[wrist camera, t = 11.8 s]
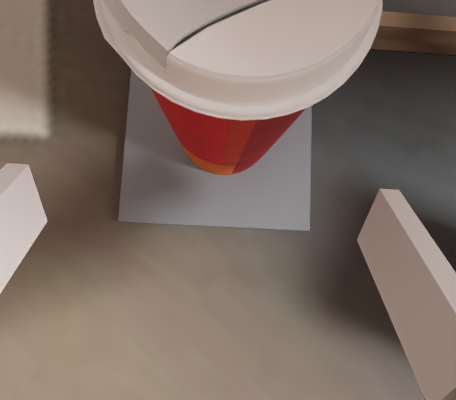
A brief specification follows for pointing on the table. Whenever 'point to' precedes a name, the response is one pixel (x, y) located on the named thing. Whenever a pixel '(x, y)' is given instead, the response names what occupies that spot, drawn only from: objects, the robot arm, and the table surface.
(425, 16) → the walnut frame
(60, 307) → the table surface
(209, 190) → the grey pad
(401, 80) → the table surface
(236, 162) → the paper cup
